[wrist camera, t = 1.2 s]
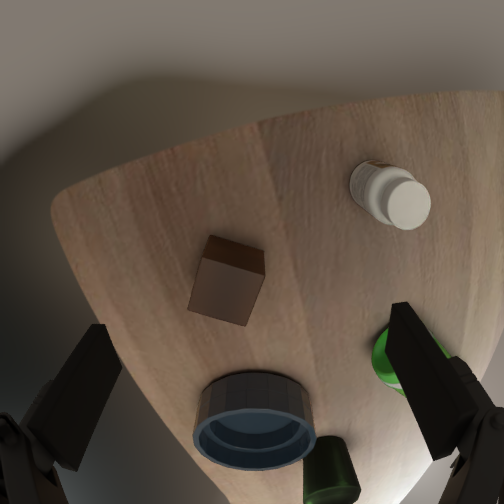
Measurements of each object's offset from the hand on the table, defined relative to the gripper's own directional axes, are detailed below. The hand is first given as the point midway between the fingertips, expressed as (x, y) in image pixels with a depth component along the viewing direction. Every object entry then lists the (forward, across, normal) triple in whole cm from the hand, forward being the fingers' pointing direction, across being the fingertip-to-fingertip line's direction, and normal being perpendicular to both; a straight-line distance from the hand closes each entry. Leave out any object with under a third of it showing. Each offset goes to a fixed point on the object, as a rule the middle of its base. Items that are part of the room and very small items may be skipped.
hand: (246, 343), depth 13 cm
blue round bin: (+16, -2, -23) cm, 28 cm away
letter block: (+16, -2, -3) cm, 16 cm away
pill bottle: (+16, +11, +3) cm, 19 cm away
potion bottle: (+16, +8, -35) cm, 39 cm away
